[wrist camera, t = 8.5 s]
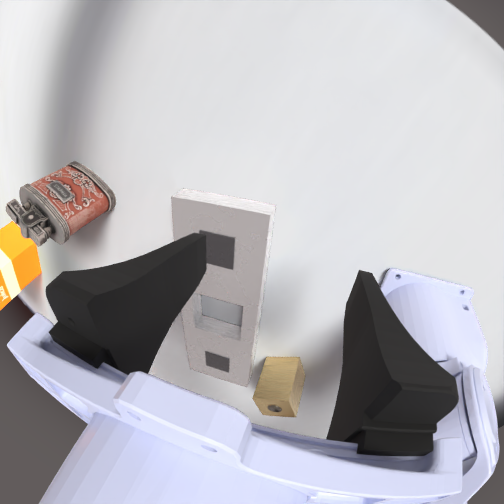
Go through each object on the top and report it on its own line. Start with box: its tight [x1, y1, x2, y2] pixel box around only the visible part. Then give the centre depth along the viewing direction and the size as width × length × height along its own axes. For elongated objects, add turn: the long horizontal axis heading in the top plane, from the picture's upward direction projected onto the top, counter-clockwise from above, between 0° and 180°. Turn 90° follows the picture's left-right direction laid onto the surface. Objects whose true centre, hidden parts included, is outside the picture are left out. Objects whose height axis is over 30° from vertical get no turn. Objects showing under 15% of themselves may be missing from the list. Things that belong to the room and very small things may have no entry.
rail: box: [171, 188, 276, 387], centre depth 28 cm, size 8×24×2 cm, turn 175°
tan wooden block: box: [252, 357, 305, 417], centre depth 29 cm, size 4×4×6 cm
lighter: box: [6, 161, 116, 247], centre depth 22 cm, size 8×3×10 cm, turn 57°
